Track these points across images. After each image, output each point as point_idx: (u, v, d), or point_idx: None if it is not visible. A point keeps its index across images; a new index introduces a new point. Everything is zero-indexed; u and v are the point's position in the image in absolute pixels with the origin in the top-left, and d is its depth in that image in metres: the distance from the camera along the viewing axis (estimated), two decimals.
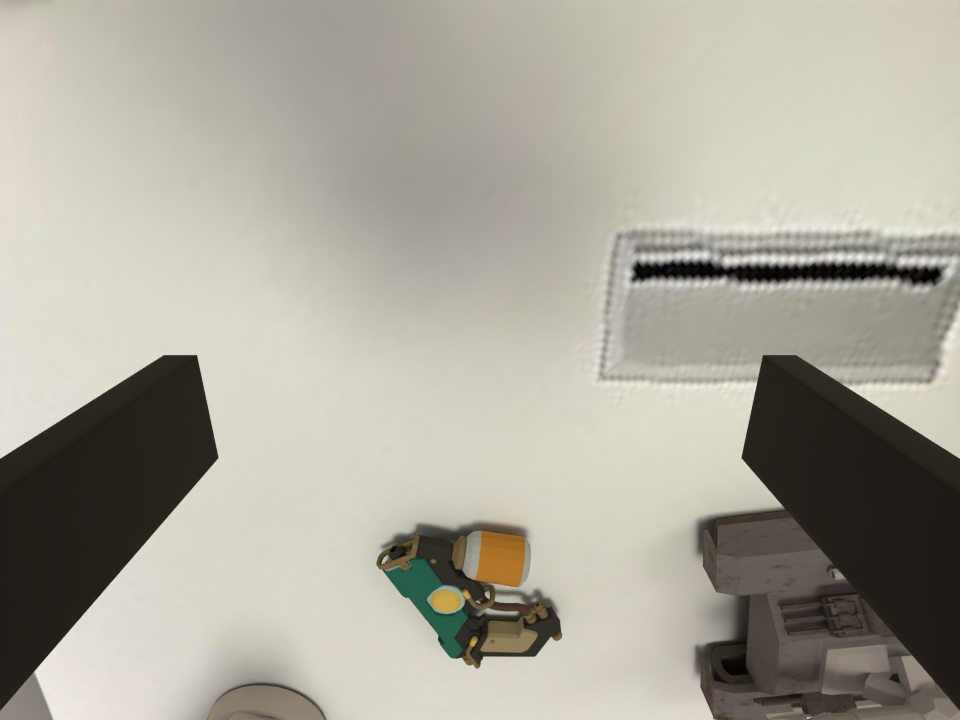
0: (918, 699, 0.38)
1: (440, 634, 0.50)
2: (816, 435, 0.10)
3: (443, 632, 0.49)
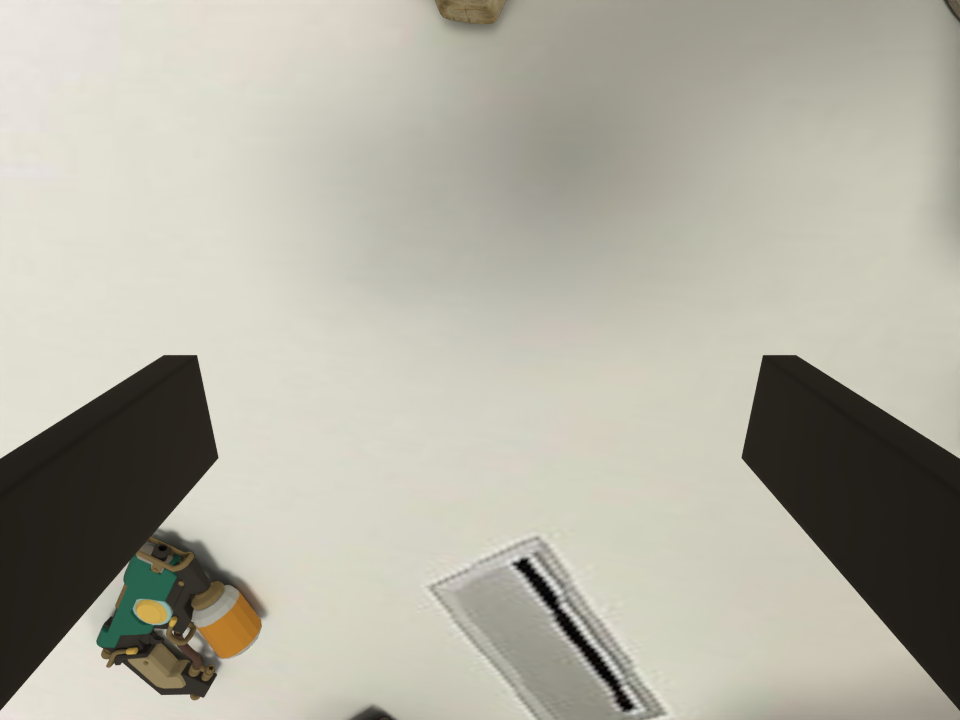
0: None
1: (113, 625, 0.48)
2: (816, 435, 0.10)
3: (117, 626, 0.48)
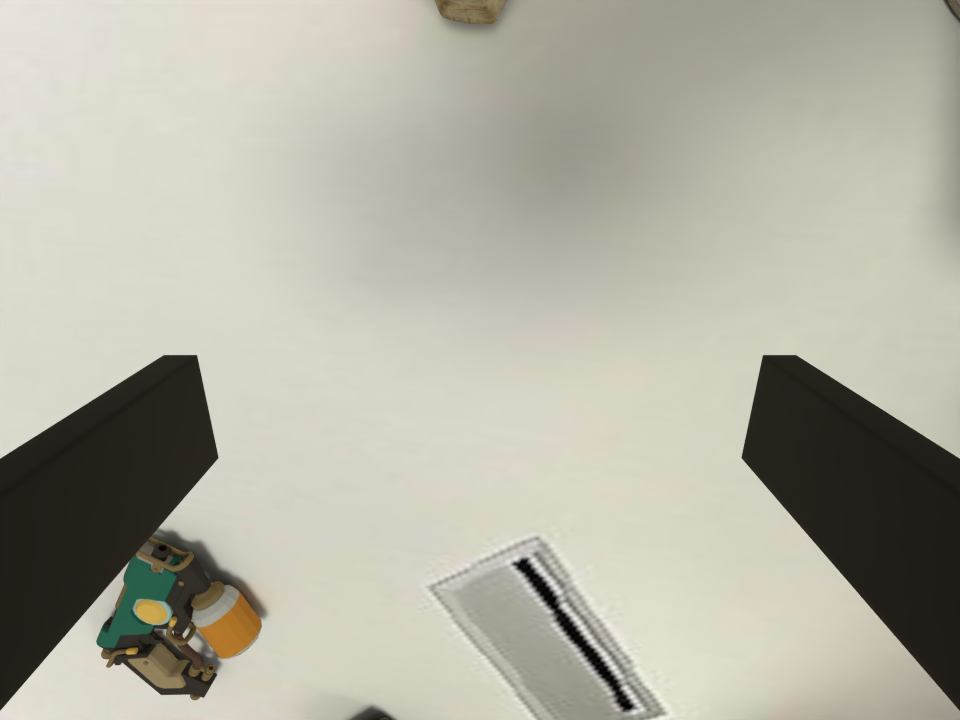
0: None
1: (113, 625, 0.48)
2: (816, 435, 0.10)
3: (117, 626, 0.48)
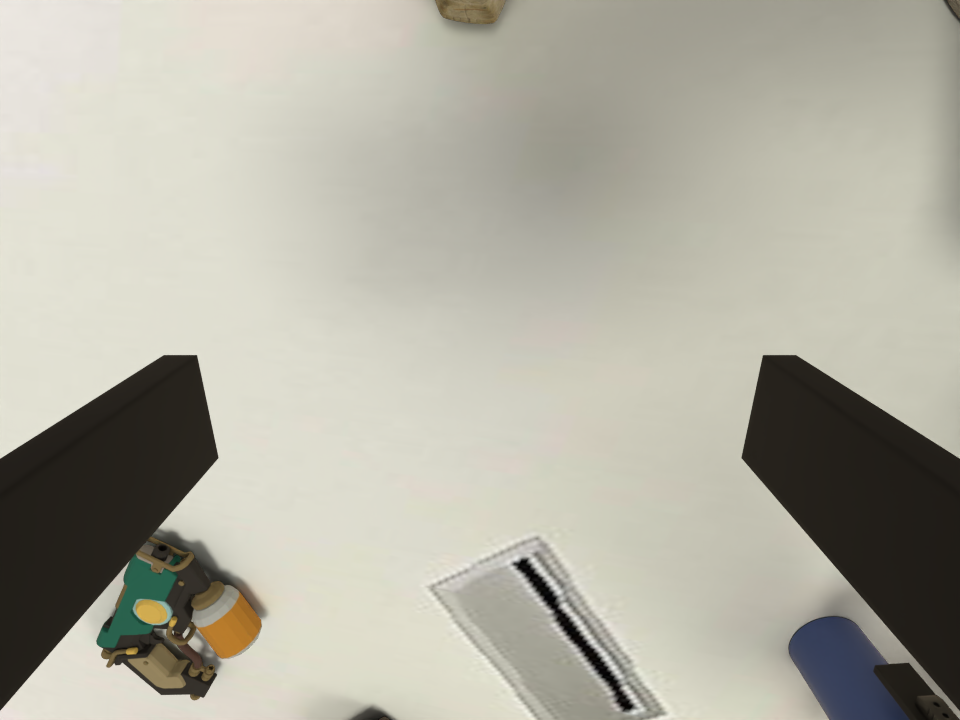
0: None
1: (113, 625, 0.48)
2: (816, 435, 0.10)
3: (117, 626, 0.48)
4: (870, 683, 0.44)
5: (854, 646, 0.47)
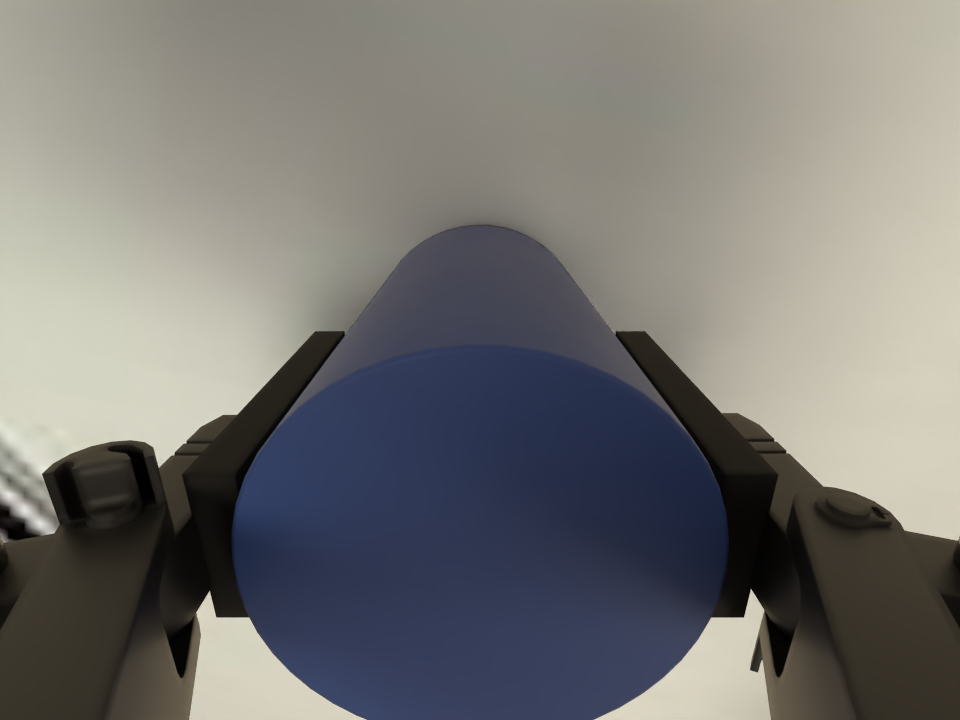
0: None
1: None
2: None
3: None
4: (426, 275, 0.11)
5: (473, 240, 0.14)
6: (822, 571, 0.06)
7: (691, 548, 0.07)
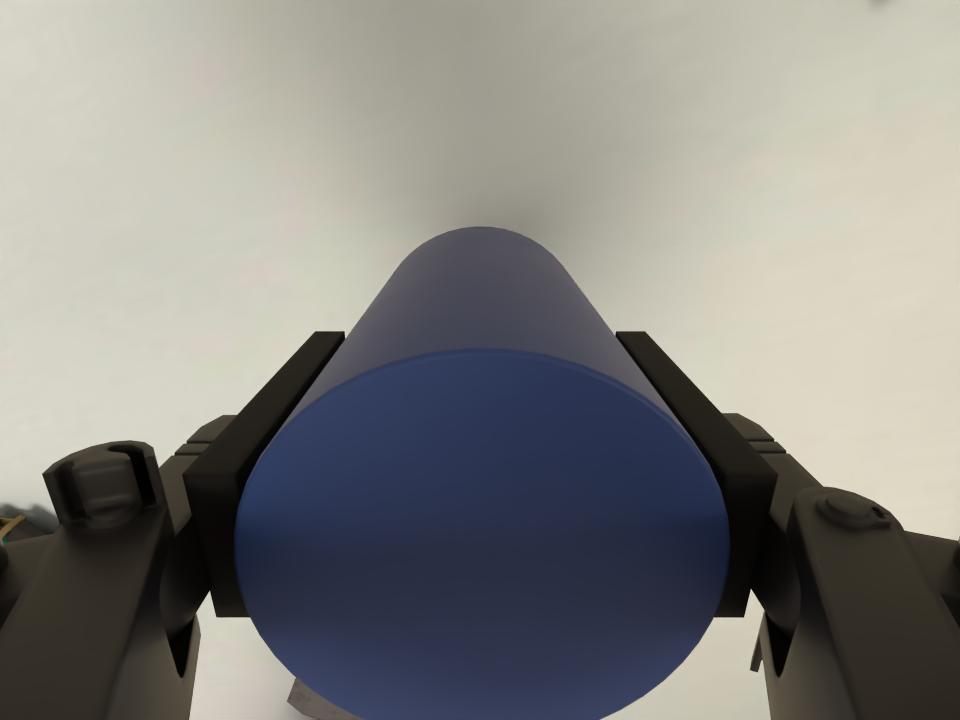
0: None
1: None
2: None
3: None
4: (427, 277, 0.11)
5: (473, 242, 0.14)
6: (822, 571, 0.06)
7: (693, 551, 0.07)
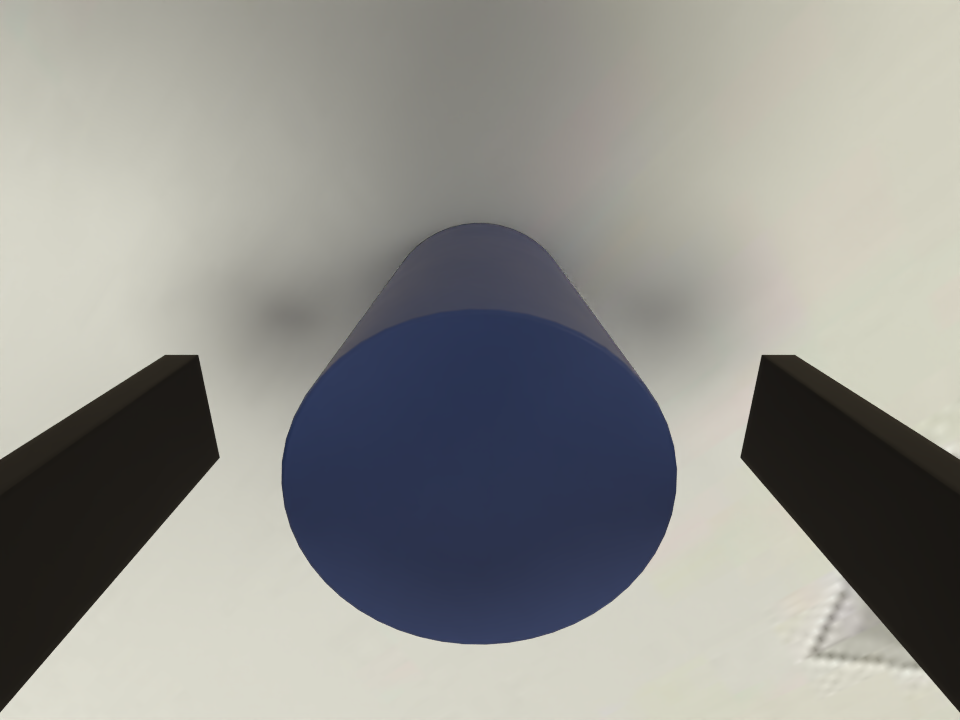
0: None
1: None
2: (814, 435, 0.10)
3: None
4: (433, 263, 0.13)
5: (472, 235, 0.16)
6: None
7: (646, 474, 0.09)
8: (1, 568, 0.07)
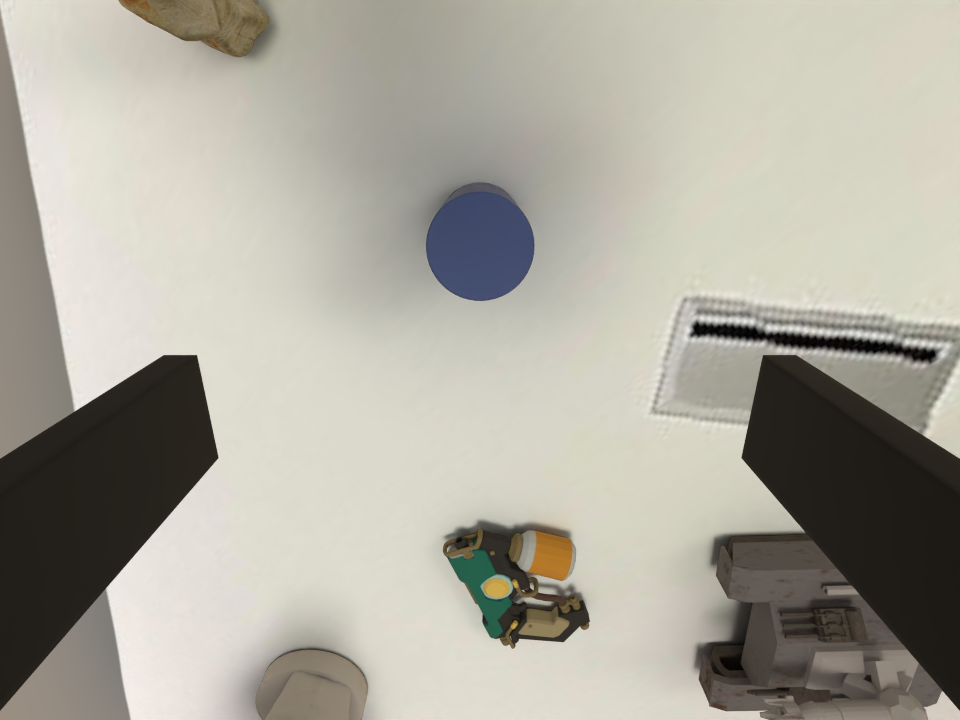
0: (886, 695, 0.48)
1: (486, 616, 0.57)
2: (816, 435, 0.10)
3: (489, 615, 0.57)
4: (464, 189, 0.37)
5: (477, 184, 0.40)
6: None
7: (525, 239, 0.34)
8: None
